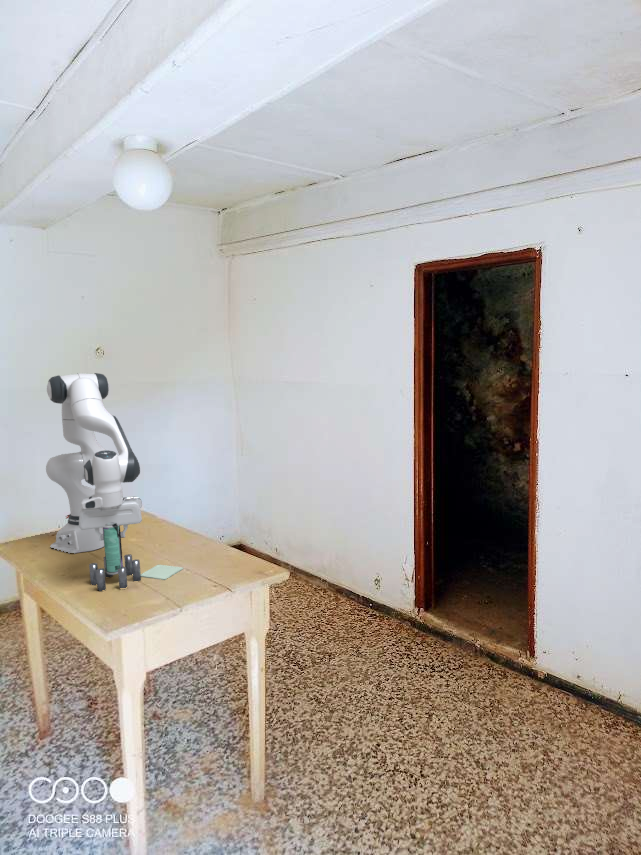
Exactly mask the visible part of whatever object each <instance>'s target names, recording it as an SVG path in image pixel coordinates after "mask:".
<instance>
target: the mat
mask: <svg viewBox="0 0 641 855" xmlns="http://www.w3.org/2000/svg"><path fill="white" fill-rule="evenodd" d="M182 570H184V567H181V566H175V565H174V566H173V565H166V564H165V565H164V564H157V565H154V566H153V567H151V568H150V569H148V570H145V571H144V572H143V573H141V578H146V579H153V578H154V580H160V579H161V580H162V581H166V580H168V579H169V578H171V577H173V576H174V575H176V574H177V573H179V572H181V571H182ZM172 575H173V576H172ZM167 578H168V579H167ZM161 580H160V581H161Z"/></svg>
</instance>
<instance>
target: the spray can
mask: <svg viewBox="0 0 641 855" xmlns="http://www.w3.org/2000/svg"><path fill="white" fill-rule="evenodd" d="M105 525H106V526H105V527H104V528H103V535H104V547H103V548H104V557H105V560H106V572H107V574H109V575H113V576H114V575H118V568H119V567H124V563H123V560H124V559H123V548H122V547H123V546H122V538H121V535H120V532H121V526H118V525H117V523H114V522H110V523H107V524H105Z"/></svg>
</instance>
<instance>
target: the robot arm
mask: <svg viewBox="0 0 641 855" xmlns="http://www.w3.org/2000/svg"><path fill="white" fill-rule="evenodd" d="M109 391H110V383H109V381H108V378H107V377H106V375H105V374H103V373H98V372H94V373H88V372H87V373H85V372H79V373H78V372H77V373H71V374H64V375H55V376H52V377H50V378H49V379H48V381H47V385H46V394H47V396H48V397H49V400H50V401H51V402H53V403H54V404H60V405H61V421H62V422H61V424H62V433H63V438H64V440H66V441H67V442H68V443H70V444H73V445H76V446H79V448H80V451H79V452H68V453H62V454H58V455H55V456H52V457H50V458H48V461H47V462H46V465H45V472H46V476H47V477H48V479H50V480H51V481H52V482H54V483H55V484H57V485H58V486H60V487H61V488H62V489H63V490H64V492H65V493H66V495H67V498H68V499H67V500H68V504H69V505H68V506H69V511H70V513H69V514H68V515H65V519H68V520H67V522H66V523H65V525H63V527H61V528H60V529H59V530H58V531H57V532H56V535H55V542H53V543H52V544H50V546H49V548H50V547H51V548H54V549H53V550H55V549H57V550H56V551H59V550H61V551H60V552H63V551H64V552H63V553H66V552H68V553H67V554H70V553H74V554H79V553H84V552H91V551H96V550H99V549H102V548H105V547H104V535H103V528H104V527H105V526H106V525H105V524H107V523H110V522H114V523H117V525H118V526H120V527H121V526H123V530H122V531H120V535H121V539H122V538H126V533H127V530H128V528H129V525H137V524H138V525H139V524H141V523H142V522H143V518H142V511H141V509H142V506H143V503H142V502H143V501H142V499H141V498H139V497H137V496H130V497H123V496H124V494H123V487H122V484H121V483H124V484H125V483H133V482H135V481H136V480H137V479H138V478H139V475H140V474H141V466H140V462H139V460H138V457H137V456H136V454H135V453H134V452H133V449H132V448H131V445H130V442H129V440H128V439H127V436H126V433H125V432H124V429H123V428H122V426H121V423H120V421H119V420H118V418H117V417H116V415H113V414H111V413H110V412H109V411H108V410H107V409H106V407H105V404H104V401H103V400H105V399H106V398H107V397H108V396H109ZM95 432H97V433H100V434H103V435H106V436H108V437H109V438H111V440H112V441H113V444H114V446H115V449H116V450H117V452H115V451H113V450H107V449H105V448H104V447H103V446H102V445H100V443H99V442H98V440H97V439H96V436H95ZM82 480H84V481H85V482H86V483H87V484H89V485H90V486H94V488H93V487H90V486H86V485H83V484H82ZM51 548H50V549H51Z"/></svg>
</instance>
